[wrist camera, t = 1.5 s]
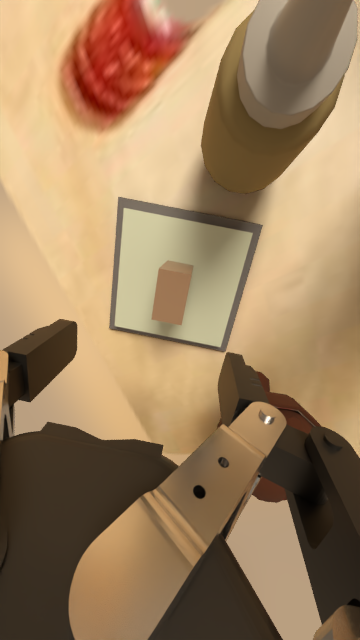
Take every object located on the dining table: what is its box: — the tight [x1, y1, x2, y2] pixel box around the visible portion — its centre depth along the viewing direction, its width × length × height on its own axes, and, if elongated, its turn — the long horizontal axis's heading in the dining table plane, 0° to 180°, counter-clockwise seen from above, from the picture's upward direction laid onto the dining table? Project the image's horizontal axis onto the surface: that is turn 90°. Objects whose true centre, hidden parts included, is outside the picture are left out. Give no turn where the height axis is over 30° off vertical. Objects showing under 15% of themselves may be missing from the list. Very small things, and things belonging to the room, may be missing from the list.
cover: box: [115, 208, 253, 347], centre depth 24 cm, size 14×14×7 cm
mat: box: [109, 197, 263, 351], centre depth 28 cm, size 16×16×1 cm
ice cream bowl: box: [217, 372, 322, 502], centre depth 26 cm, size 11×11×15 cm
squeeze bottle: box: [201, 0, 358, 194], centre depth 14 cm, size 8×8×18 cm
